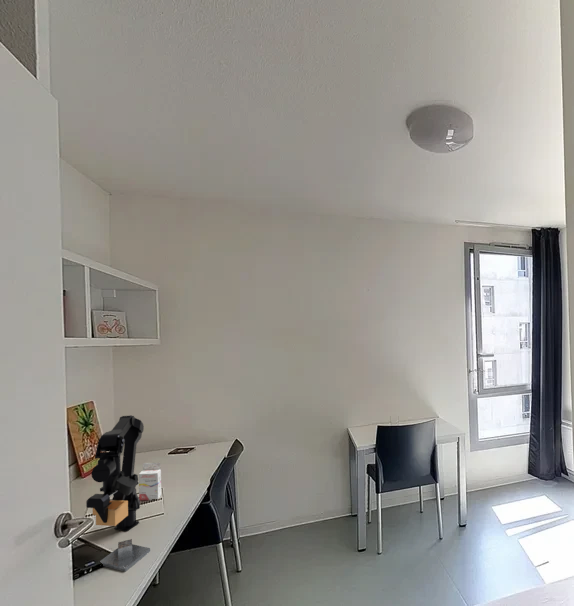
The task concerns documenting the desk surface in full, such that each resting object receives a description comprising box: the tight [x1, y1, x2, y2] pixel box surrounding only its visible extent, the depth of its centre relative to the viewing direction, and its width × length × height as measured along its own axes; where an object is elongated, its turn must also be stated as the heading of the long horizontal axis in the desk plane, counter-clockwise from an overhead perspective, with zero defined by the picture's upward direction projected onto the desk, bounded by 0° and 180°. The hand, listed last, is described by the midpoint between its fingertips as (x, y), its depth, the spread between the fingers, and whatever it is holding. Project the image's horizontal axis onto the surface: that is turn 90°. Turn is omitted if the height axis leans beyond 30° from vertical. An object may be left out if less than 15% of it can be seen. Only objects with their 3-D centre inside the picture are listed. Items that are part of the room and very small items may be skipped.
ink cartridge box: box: [138, 462, 162, 501], centre depth 169 cm, size 9×5×15 cm, turn 92°
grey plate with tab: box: [99, 538, 151, 573], centre depth 125 cm, size 11×11×4 cm
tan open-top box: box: [92, 499, 128, 527], centre depth 130 cm, size 7×10×5 cm
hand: (112, 516), depth 130 cm, fingers closed on tan open-top box, 7 cm apart
